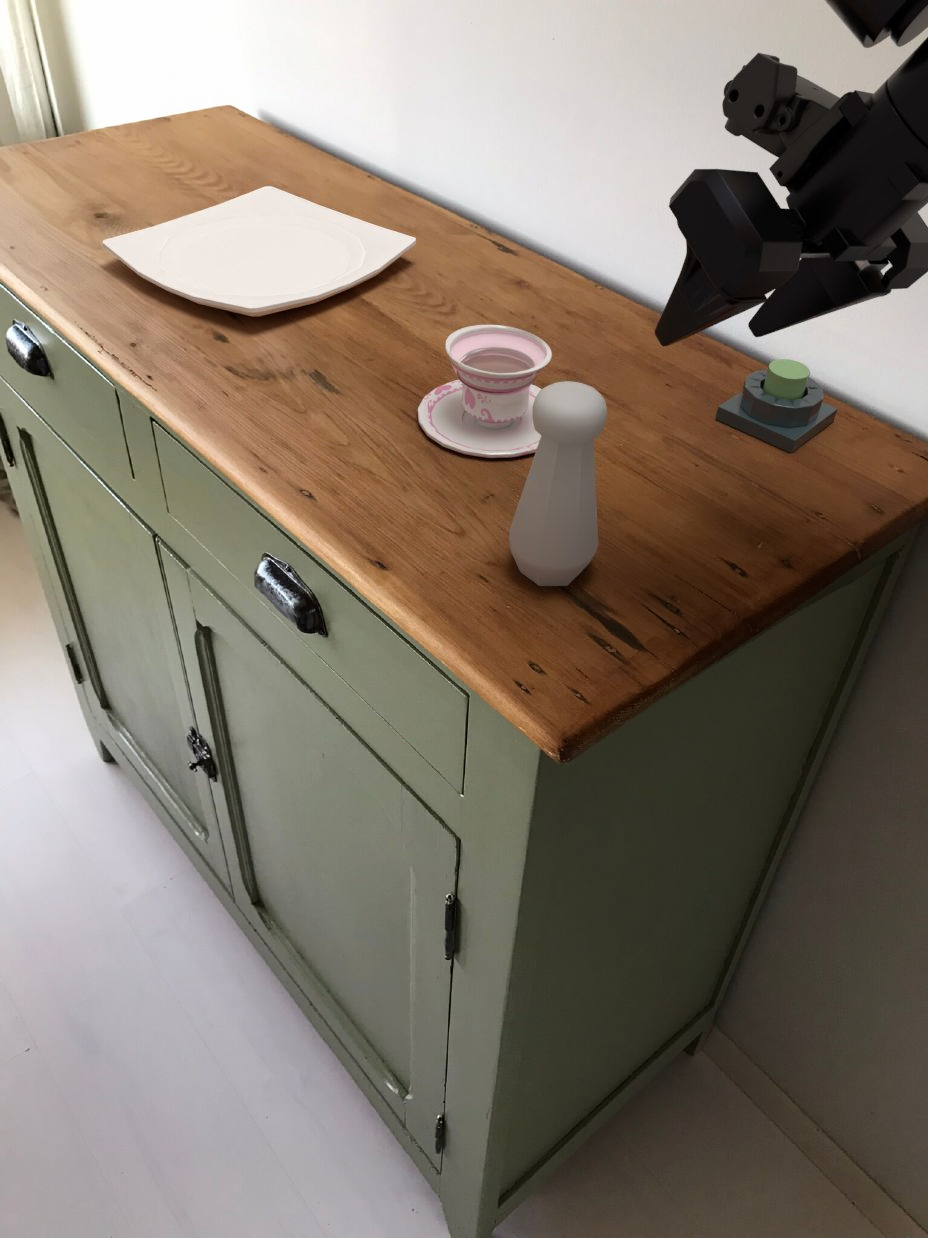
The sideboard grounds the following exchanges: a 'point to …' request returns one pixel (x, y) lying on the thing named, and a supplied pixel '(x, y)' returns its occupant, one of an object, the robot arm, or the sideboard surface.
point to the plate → (260, 253)
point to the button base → (777, 413)
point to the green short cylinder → (786, 379)
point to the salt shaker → (560, 487)
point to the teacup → (487, 393)
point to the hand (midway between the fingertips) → (708, 335)
